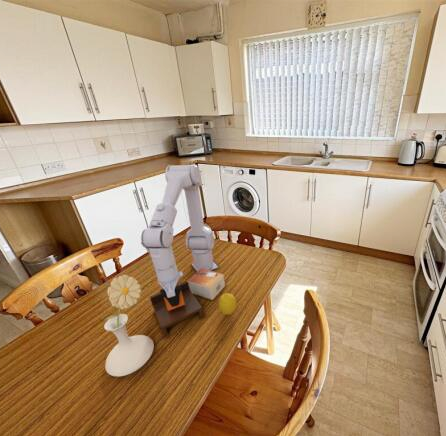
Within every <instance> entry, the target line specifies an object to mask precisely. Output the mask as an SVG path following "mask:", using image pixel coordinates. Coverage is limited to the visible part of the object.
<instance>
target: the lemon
mask: <svg viewBox="0 0 446 436" xmlns="http://www.w3.org/2000/svg"><path fill="white" fill-rule="evenodd" d="M237 305H238V304H237V300H236V297H235V295H233V294H232V293H229V292H227V293H224V294H222V295H221V296H220V297H219V300H218V309H219V311H220V312H221V313H222V314H223V315H225V316H230V315H232V314H233V313H235V312H236V309H237Z"/></svg>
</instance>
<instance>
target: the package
mask: <svg viewBox="0 0 446 436" xmlns="http://www.w3.org/2000/svg"><path fill="white" fill-rule="evenodd" d="M179 284H180V283H177V284H176V286H179ZM164 299H165V303H166V306H167V309H168V311H169V310H172V309H175V308H177V307H180V306H183V305H185V303H184V299H183V295H182V291H181V292H180V295H179V305H177V306H174V307H172V306H171V305H170V303H169V302H168V300H167V299H166V298H164Z"/></svg>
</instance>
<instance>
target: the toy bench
mask: <svg viewBox="0 0 446 436" xmlns="http://www.w3.org/2000/svg"><path fill="white" fill-rule="evenodd" d="M179 285H181V291H182V295H183V299H184V303H185V305H183V306H180V307H177V308H175V309H172V310H169V311H168V309H167V306H166V303H165V299H164V297H162V296H161V293H160V292H157V293H155V294H153V295H150V296H149V299H150V303H151V305H152V308H153V311H154V314H155V317H156V319H157V321H158V324H159V326H160V329H161V331H162V333H163V337H164V338H166V337H169V333H168V330H167V329H168V328H169V327H172V326H174V325H176V324H177V323H180V322H181V321H183V320H186V319H187V318H189V317H191V316H193V315H195V314H198V317H199V318H200V319H202V318H204V317H205V316H204V312H203V307H202V306H201V304H200V302H199V301H198V299H197V298H196V297H195V294H193V293H192V292H191V290H190V289H189V285H188V282H187V280H185V281H183V282H181V283H179Z"/></svg>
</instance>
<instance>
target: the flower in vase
mask: <svg viewBox="0 0 446 436" xmlns="http://www.w3.org/2000/svg"><path fill="white" fill-rule="evenodd" d="M138 282H139V280H138V279H136V278H134V277H133V276H129V275H128V274H123V275H119V276H118V277H114V278H112V281H110V286H108V288H107V296H108V300H109V301H110V303H111V306H112V307H115V308H118V311H117V314H114V315H111V316H108V317H106V318H105V319H104V318H103V319H102V320H103V321H106V322H105V323H104V326H103V327H104V328H103V329H104V330H106V331H107V332H111V333H113V334H114V335H115V337H116V339H117V341H118V343H117V344H116V345H115V346H114V347H113V348H112V349H111V350H110V352H109V353H108V355H107V357H106V359H105V365H104V366H105V367H104V368H105V371H106V373H107V374H108V375H110V376H112V377H126V376H128V375H132V374H133V373H135V372H136V371H138V370H140V369H141V368H142V367H143V366H144V365H145V364H147V362H148V361H149V360H150V358H151V356H152V355H153V352H154V348H155V344H154V341H153V339H152V338H150V337H149V336H147V335H145V334H135V335H131V336H129V334H128V331H127V326H126V325H127V322H128V320H129V316H128V315H127V314H125V313H121V310H124V309H130V308H132V307H133V306H134V305H136V304H137V303H138V299H139V298H141V292H142V289H141V284H139V283H138Z"/></svg>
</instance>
